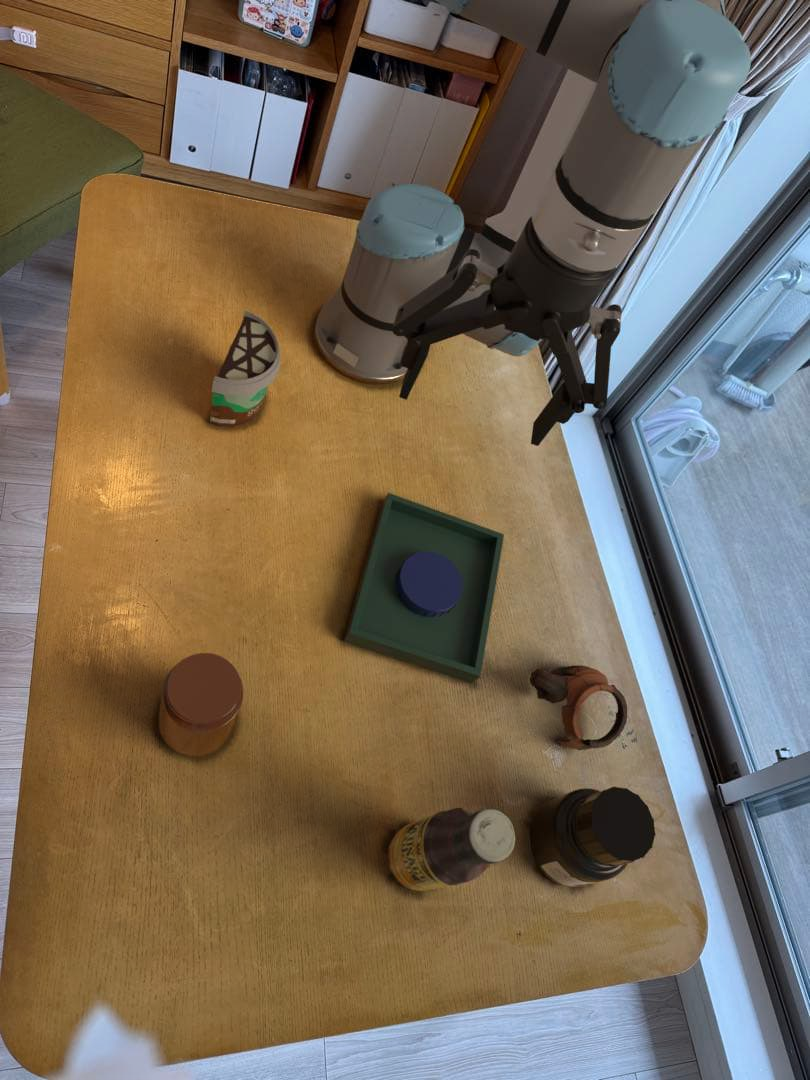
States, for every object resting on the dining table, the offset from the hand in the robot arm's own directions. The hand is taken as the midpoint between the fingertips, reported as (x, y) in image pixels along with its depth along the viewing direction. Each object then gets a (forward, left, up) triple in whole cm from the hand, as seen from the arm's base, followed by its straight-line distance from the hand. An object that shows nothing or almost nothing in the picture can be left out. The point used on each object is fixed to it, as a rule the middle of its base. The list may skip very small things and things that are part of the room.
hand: (471, 411), depth 75 cm
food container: (-11, -23, -25) cm, 36 cm away
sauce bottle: (+36, +10, -25) cm, 45 cm away
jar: (+29, -15, -25) cm, 41 cm away
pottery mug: (+15, +24, -25) cm, 38 cm away
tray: (+6, +5, -25) cm, 26 cm away
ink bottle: (+30, +26, -25) cm, 47 cm away
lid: (+6, +5, -23) cm, 24 cm away
